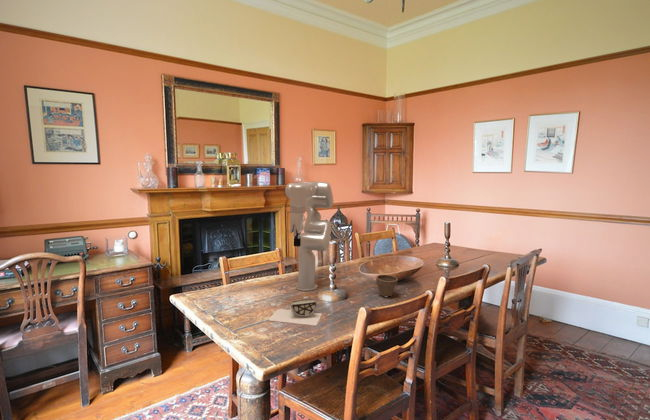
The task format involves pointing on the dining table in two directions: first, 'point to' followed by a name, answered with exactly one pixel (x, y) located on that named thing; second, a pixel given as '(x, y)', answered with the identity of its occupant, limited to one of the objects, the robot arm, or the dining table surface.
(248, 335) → the dining table surface
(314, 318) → the mat
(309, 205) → the robot arm
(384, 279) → the flower pot
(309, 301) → the food container
